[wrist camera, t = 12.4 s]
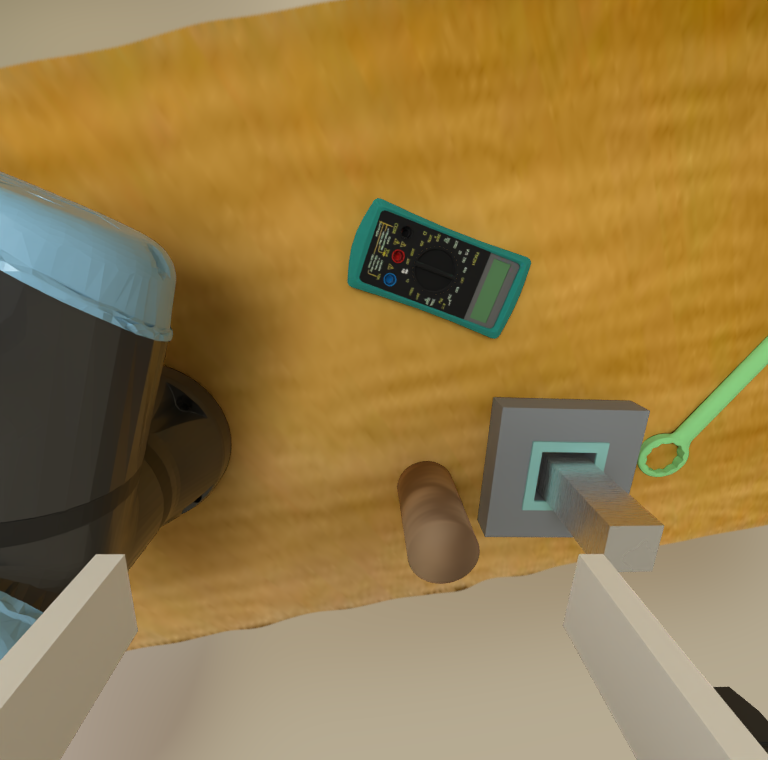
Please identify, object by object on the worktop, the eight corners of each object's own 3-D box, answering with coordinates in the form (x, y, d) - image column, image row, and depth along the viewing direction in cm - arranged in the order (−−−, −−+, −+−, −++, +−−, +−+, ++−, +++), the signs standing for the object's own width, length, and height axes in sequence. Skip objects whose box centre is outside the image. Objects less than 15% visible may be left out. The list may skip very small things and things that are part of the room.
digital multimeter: (368, 197, 33) (368, 192, 31) (524, 260, 36) (538, 260, 33) (341, 281, 35) (339, 283, 33) (491, 336, 37) (501, 342, 35)
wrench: (839, 294, 39) (809, 260, 37) (864, 295, 37) (833, 259, 36) (654, 481, 43) (622, 456, 42) (668, 491, 41) (634, 465, 40)
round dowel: (395, 509, 42) (405, 583, 32) (399, 460, 40) (410, 523, 31) (449, 510, 42) (475, 583, 33) (455, 461, 41) (483, 523, 31)
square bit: (529, 479, 42) (599, 572, 29) (534, 444, 40) (610, 526, 28) (566, 479, 42) (652, 571, 29) (572, 444, 41) (664, 525, 28)
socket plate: (477, 519, 43) (485, 538, 40) (493, 397, 39) (503, 408, 36) (602, 520, 44) (619, 538, 41) (630, 400, 40) (651, 411, 37)
